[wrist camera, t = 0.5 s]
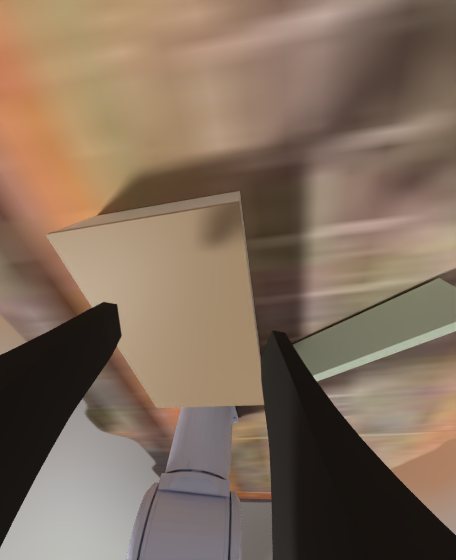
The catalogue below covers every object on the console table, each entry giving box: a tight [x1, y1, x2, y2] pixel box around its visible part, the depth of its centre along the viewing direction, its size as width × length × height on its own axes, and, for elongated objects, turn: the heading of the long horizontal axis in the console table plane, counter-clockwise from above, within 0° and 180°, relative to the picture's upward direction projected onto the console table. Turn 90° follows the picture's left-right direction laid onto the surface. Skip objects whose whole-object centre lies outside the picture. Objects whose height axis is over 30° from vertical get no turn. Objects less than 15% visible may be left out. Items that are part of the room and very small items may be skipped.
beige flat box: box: [46, 191, 264, 408], centre depth 19 cm, size 20×12×5 cm, turn 10°
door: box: [293, 278, 456, 381], centre depth 19 cm, size 18×2×4 cm, turn 130°
